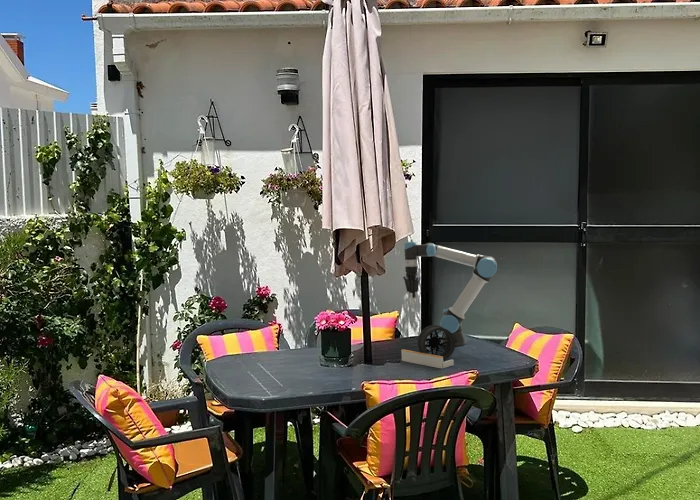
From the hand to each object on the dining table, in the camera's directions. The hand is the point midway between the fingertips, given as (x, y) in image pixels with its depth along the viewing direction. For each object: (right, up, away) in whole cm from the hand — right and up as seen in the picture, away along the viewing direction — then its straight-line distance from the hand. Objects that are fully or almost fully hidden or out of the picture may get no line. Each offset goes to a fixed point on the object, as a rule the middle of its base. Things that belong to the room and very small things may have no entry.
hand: (412, 302), depth 412 cm
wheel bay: (+5, -32, -38) cm, 50 cm away
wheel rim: (+11, -31, -32) cm, 46 cm away
